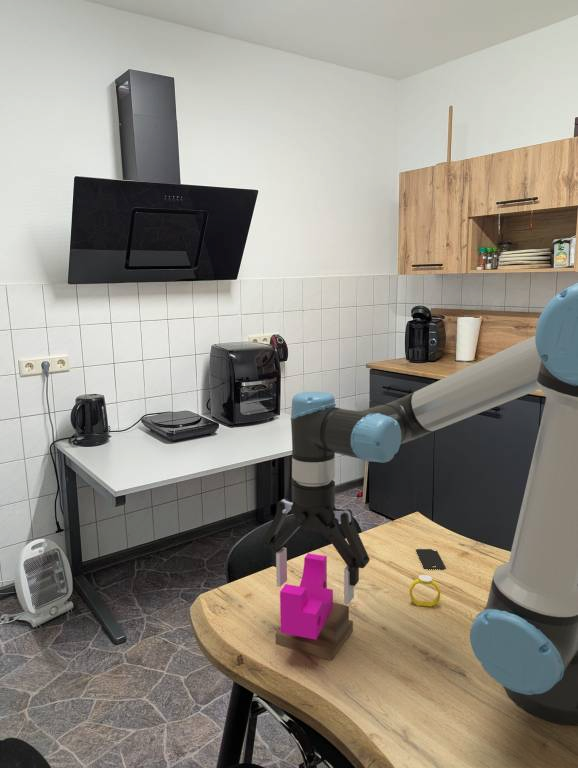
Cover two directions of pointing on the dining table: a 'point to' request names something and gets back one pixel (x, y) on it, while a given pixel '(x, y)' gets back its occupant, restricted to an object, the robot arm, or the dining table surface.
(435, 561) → the black smartphone
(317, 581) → the toy block
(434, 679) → the dining table surface
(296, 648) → the brown stepped wooden stand
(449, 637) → the dining table surface
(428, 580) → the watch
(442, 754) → the dining table surface
